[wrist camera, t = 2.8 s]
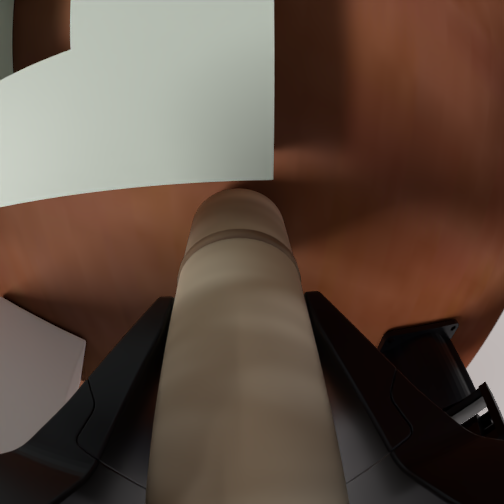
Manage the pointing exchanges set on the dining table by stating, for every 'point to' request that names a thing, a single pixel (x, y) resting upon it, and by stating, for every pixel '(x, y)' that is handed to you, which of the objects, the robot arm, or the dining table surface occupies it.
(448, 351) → the robot arm
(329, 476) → the peg
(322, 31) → the dining table surface
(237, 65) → the board
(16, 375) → the milk carton
